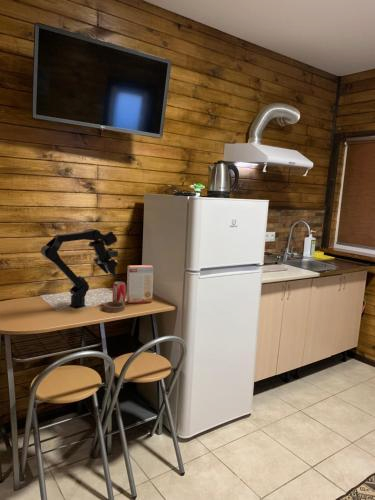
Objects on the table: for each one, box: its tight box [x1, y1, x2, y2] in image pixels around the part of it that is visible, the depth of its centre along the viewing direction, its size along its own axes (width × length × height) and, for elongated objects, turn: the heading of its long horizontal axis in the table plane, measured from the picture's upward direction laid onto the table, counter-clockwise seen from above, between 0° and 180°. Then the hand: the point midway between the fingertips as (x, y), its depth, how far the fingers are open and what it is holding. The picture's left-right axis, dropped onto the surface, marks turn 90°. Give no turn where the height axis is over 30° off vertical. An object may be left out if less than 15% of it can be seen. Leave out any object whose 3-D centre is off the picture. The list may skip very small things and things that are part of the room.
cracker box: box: [126, 264, 154, 304], centre depth 220 cm, size 14×6×21 cm, turn 111°
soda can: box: [112, 281, 127, 304], centre depth 214 cm, size 7×7×12 cm
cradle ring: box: [102, 300, 126, 313], centre depth 204 cm, size 11×11×2 cm
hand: (110, 275), depth 214 cm, fingers open, 9 cm apart
